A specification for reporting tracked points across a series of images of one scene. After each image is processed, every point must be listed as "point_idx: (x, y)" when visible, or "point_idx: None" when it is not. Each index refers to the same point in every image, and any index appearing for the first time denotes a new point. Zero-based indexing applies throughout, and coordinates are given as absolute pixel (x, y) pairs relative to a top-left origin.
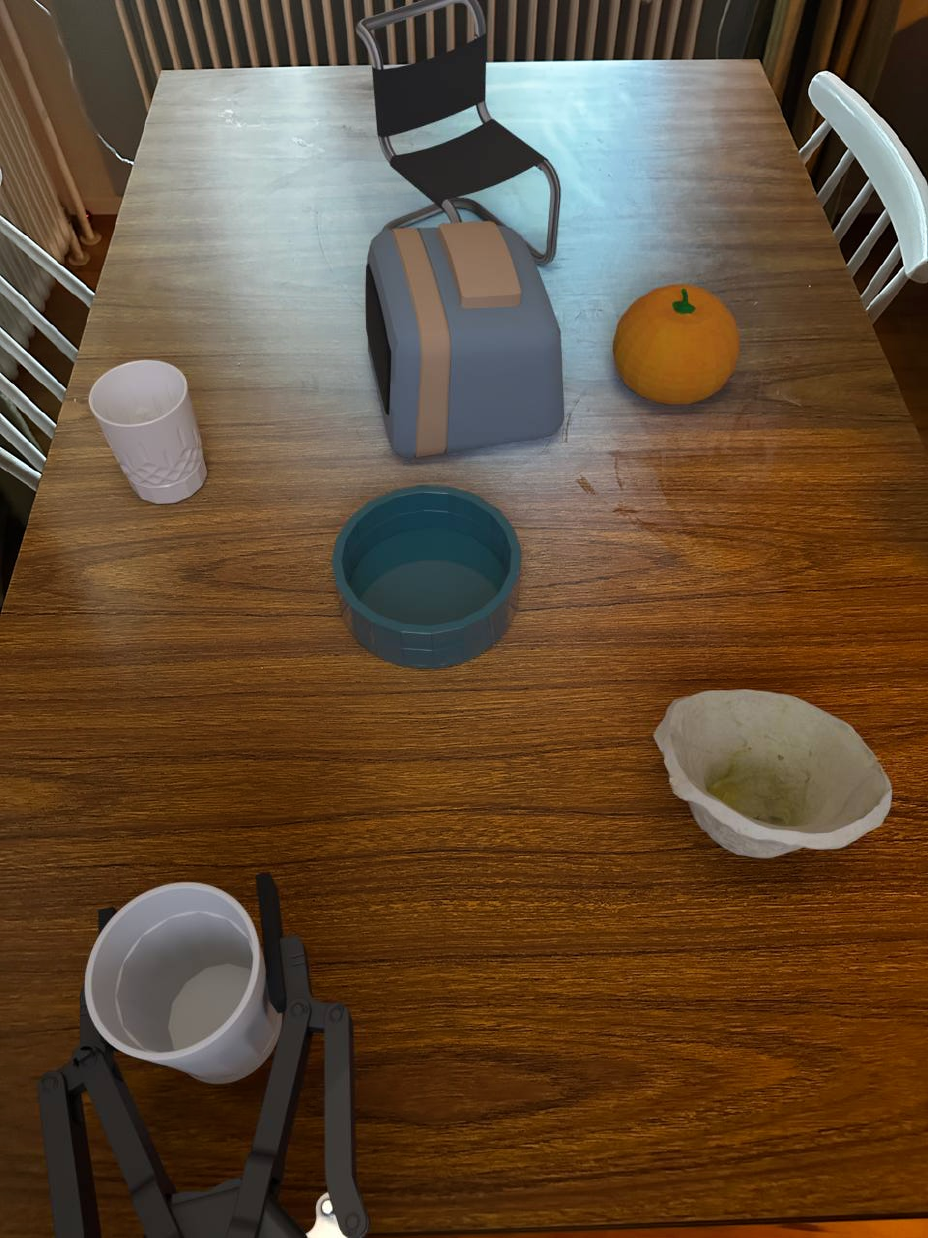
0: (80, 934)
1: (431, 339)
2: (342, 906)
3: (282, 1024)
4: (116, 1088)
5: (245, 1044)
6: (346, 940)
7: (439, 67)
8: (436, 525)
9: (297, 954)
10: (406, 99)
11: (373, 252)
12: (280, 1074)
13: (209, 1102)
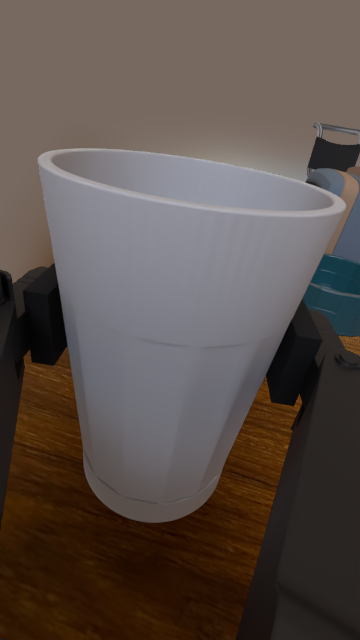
0: (43, 379)
1: (350, 186)
2: (258, 436)
3: (323, 367)
4: (4, 342)
5: (227, 405)
6: (261, 463)
7: (340, 149)
8: (324, 282)
9: (322, 324)
10: (324, 156)
11: (313, 172)
12: (334, 433)
13: (84, 568)
